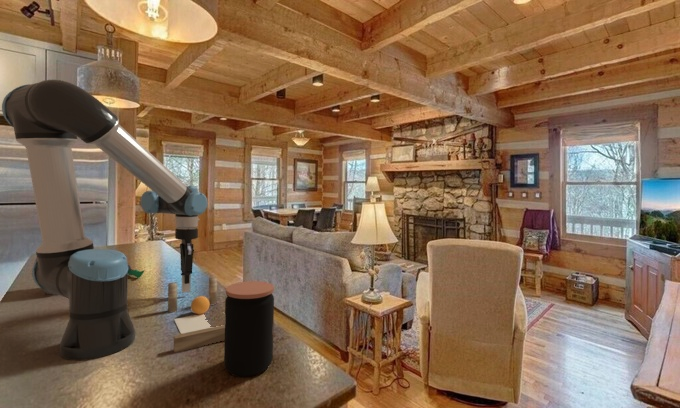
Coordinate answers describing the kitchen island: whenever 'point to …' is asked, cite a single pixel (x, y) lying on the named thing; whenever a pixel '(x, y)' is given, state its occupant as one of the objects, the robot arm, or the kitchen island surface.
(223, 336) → the stopper wall
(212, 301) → the post right
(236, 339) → the coffee jar
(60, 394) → the kitchen island surface
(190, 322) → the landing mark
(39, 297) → the kitchen island surface
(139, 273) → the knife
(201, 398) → the kitchen island surface
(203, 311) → the ball
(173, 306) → the post left
